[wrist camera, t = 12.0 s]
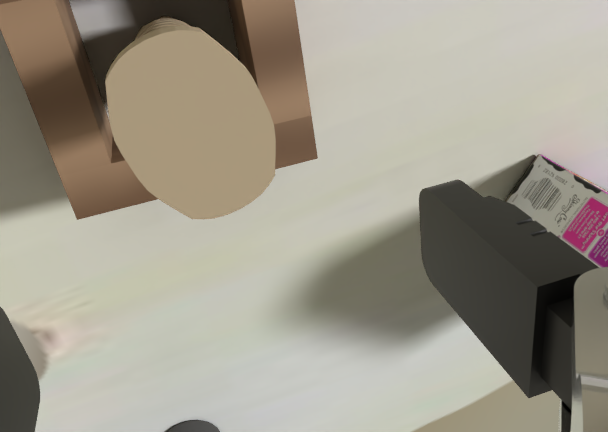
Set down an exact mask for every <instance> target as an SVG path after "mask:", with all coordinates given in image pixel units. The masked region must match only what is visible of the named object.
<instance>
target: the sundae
mask: <svg viewBox="0 0 608 432" xmlns="http://www.w3.org/2000/svg"><path fill="white" fill-rule="evenodd" d="M167 432H220V431H219V430H218V428H217V427H215V426H214V425H213V424H211V423H209V422H205V421H200V420H193V421H186V422H183V423H180V424H178V425H175V426H173V427H172V428H171V429H169V430H168V431H167Z"/></svg>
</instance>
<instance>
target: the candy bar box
mask: <svg viewBox="0 0 608 432" xmlns="http://www.w3.org/2000/svg"><path fill="white" fill-rule="evenodd" d="M505 202H508V203H511V204H513V205H515V206H517V207H518V208H519V209H521V210H522V211H523V212H525V213H526V214H527V215H529V216H530V217H531V218H532V220H533V221H535V220H536V221H537V222H538V223H540V224H541V225H542V226H544V227H545V228H546V229H547V232H550V231H551V232H552V233H553V234H555V235H556V236H557V237H559V238H560V239H561V240H563V241H564V242H565V243H567V244H568V245H570V246H571V247H572V248H574V249H575V250H576V251H578V252H579V253H580V254H582V255H583V256H584V257H586V258H587V259H589V260H590V261H591V262H593V263H594V264H595V265H597V266H598V267H599V268H602V267H608V191H606V190H604V189H603V188H601V187H599V186H597V185H595V184H594V183H592V182H590V181H588V180H586V179H584V178H582V177H581V176H579V175H577V174H575V173H573V172H571V171H569V170H568V169H566V168H564V167H562V166H560V165H558V164H556V163H555V162H553V161H551V160H550V159H548V158H546V157H544V156H543V155H541V154H539V155H537V157H536V158H535V159H534V161H533V162H532V164H531V165H530V167H529V168H528V170H527V171H526V173H525V174H524V176H523V177H522V178H521V180H520V181H519V182H518V184H517V185H516V187H515V188H514V189H513V191H512V192H511V193H510V195H509V197H508V198H507V200H506V201H505Z"/></svg>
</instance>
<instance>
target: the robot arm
mask: <svg viewBox="0 0 608 432" xmlns="http://www.w3.org/2000/svg"><path fill="white" fill-rule="evenodd" d="M419 210H420V231H421V252H422V260H423V264H424V268H425V270H426V273H427V275H428V277H429V279H430V281H431V282H432V284H433V285H434V286H435V288H436V289H437V290H438V291H439V292H440V293H441V295H442V296H443V297H444V298H445V299H446V301H447V302H448V303H449V304H450V305H451V307H452V308H453V309H454V310H455V311H456V312H457V314H458V315H459V316H460V317H461V318H462V320H463V321H464V322H465V323H466V324H467V326H468V327H469V328H470V329H471V330H472V331H473V333H474V334H475V335H476V336H477V337H478V339H479V340H480V341H481V342H482V343H483V345H484V346H485V347H486V348H487V349H488V350H489V352H490V353H491V354H492V355H493V356H494V358H495V359H496V360H497V361H498V362H499V364H500V365H501V366H502V367H503V368H504V370H505V371H506V372H507V373H508V374H509V375H510V377H511V378H512V379H513V380H514V381H515V383H516V384H517V385H518V386H519V387H520V388H521V390H522V391H523V392H524V393H525V394H526V396H527V397H528V398H531V397H533V396H536V395H539V394H542V393H545V392H547V391H550V390H553V391H554V392H555V393H556V394H557V395H558V396H559V398H560V399H561V402H560V410H559V432H608V267H602V268H599V267H598V266H597V265H595V264H594V263H593V262H591V261H590V260H589V259H587V258H586V257H584V256H583V255H582V254H580V253H579V252H578V251H576V250H575V249H574V248H572V247H571V246H570V245H568V244H567V243H565V242H564V241H563V240H561V239H560V238H559V237H557V236H556V235H555V234H553V233H552V232H551V231H550V232H547V229H546V228H545V227H544V226H542V225H541V224H540V223H538V222H537V221H536V220H535V221H533V220H532V218H531V217H530V216H529V215H527V214H526V213H525V212H523V211H522V210H521V209H519V208H518V207H517V206H515V205H513V204H511V203H508V202H505V201H502V200H499V199H496V198H493V197H491V196H488V197H485V198H483V197H482V196H481V195H479V194H478V193H477V192H475V191H474V190H473V189H472V188H470V187H469V186H468V185H466V184H465V183H464V182H462V181H461V180H454V181H450V182H447V183H443V184H439V185H436V186H432V187H428V188H425V189H422V191H421V192H420V196H419ZM39 403H40V388H39V382H38V377H37V374H36V371H35V369H34V367H33V365H32V363H31V361H30V359H29V357H28V355H27V353H26V351H25V349H24V347H23V346H22V344H21V342H20V340H19V338H18V336H17V334H16V332H15V330H14V329H13V327H12V325H11V323H10V321H9V319H8V317H7V315H6V314H5V312H4V311H3V309H2V308H1V307H0V432H35V426H36V420H37V415H38V409H39Z"/></svg>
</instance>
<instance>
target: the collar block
mask: <svg viewBox="0 0 608 432" xmlns="http://www.w3.org/2000/svg"><path fill="white" fill-rule="evenodd" d="M227 1H228V5H229V10H230V15H231V20H232V25H233V30H234V35H235V40H236V45H237V50H238V55H239V60H240V62H241V63H242V64H243V65H244V66H245V67H246V69H247V70H248V71H249V73H250V74H251V76H252V77H253V79H254V81H255V83H256V85H257V87H258V89H259V91H260V93H261V95H262V97H263V99H264V101H265V104H266V106H267V108H268V110H269V112H270V115H271V118H272V121H273V123H274V129H275V138H276V157H275V169H278V168H282V167H286V166H290V165H293V164H297V163H301V162H305V161H309V160H313V159H317V158H318V157H317V151H316V144H315V137H314V130H313V124H312V117H311V110H310V103H309V96H308V90H307V83H306V76H305V69H304V63H303V56H302V49H301V42H300V35H299V29H298V22H297V15H296V8H295V2H294V0H227ZM0 29H1V32H2V34H3V37H4V39H5V42H6V44H7V47H8V49H9V52H10V54H11V57H12V59H13V62H14V64H15V67H16V69H17V72H18V74H19V77H20V79H21V81H22V84H23V86H24V89H25V91H26V94H27V96H28V99H29V101H30V104H31V106H32V109H33V111H34V114H35V116H36V119H37V121H38V124H39V126H40V129H41V131H42V134H43V136H44V139H45V141H46V144H47V146H48V148H49V151H50V153H51V156H52V158H53V161H54V163H55V166H56V168H57V171H58V173H59V176H60V178H61V181H62V183H63V186H64V188H65V191H66V193H67V196H68V198H69V201H70V203H71V206H72V208H73V211H74V213H75V216H76V218H77V220H78V219H82V218H86V217H90V216H94V215H98V214H101V213H105V212H109V211H113V210H117V209H121V208H125V207H129V206H133V205H137V204H141V203H145V202H148V201H152V200H156V199H158V198H157V197H155V196H154V195H153V194H151V193H150V192H149V191H148V190H147V189H146V188H145V187H144V186H143V184H142V183H141V182H140V181H139V180H138V178H137V177H136V175H135V174H134V172H133V171H132V169H131V168H130V166H129V165H128V163H127V162H126V160H125V159H124V157H123V156H122V154H121V152H120V150H119V148H118V146H117V145H116V143H115V141H114V137H113V134H112V130H111V126H110V122H109V119H108V116H107V113H106V110H105V107H104V104H103V101H102V98H101V95H100V92H99V89H98V86H97V83H96V80H95V77H94V74H93V71H92V69H91V66H90V63H89V60H88V57H87V54H86V51H85V48H84V45H83V42H82V39H81V36H80V33H79V30H78V27H77V24H76V21H75V18H74V15H73V12H72V9H71V6H70V3H69V0H0Z"/></svg>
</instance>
